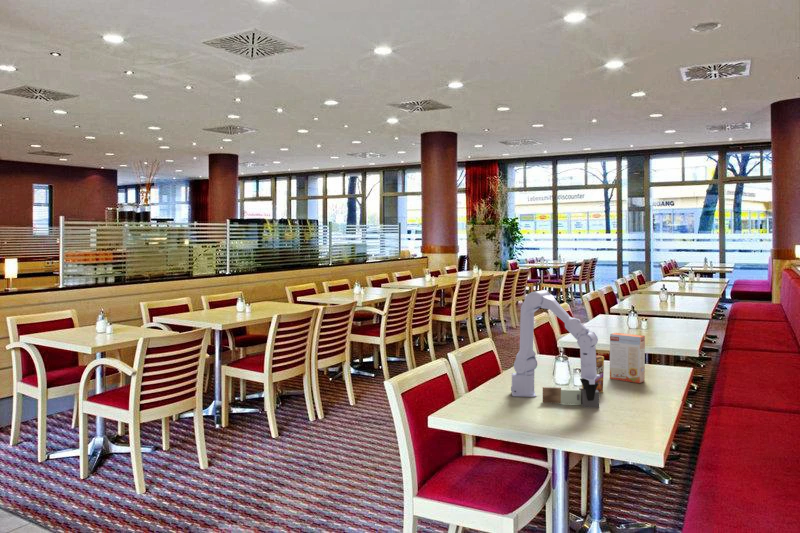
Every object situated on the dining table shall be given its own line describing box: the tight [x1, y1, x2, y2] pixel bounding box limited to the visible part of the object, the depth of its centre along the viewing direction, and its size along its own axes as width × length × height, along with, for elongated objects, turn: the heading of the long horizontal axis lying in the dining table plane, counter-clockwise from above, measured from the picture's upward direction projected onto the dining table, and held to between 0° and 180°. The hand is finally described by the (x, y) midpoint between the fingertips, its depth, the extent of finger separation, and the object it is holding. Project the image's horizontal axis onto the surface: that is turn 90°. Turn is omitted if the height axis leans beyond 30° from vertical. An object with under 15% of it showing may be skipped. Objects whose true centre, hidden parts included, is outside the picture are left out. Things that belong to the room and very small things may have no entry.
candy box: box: [581, 354, 605, 394], centre depth 252 cm, size 9×4×15 cm, turn 123°
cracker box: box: [609, 332, 646, 384], centre depth 273 cm, size 14×6×21 cm, turn 46°
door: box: [560, 388, 582, 406], centre depth 235 cm, size 8×2×6 cm, turn 82°
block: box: [580, 389, 600, 409], centre depth 234 cm, size 6×4×6 cm, turn 82°
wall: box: [542, 386, 584, 404], centre depth 238 cm, size 16×1×6 cm, turn 82°
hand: (589, 398), depth 234 cm, fingers open, 4 cm apart
